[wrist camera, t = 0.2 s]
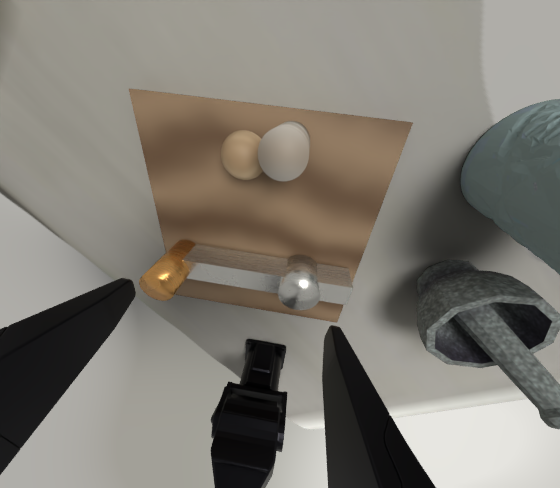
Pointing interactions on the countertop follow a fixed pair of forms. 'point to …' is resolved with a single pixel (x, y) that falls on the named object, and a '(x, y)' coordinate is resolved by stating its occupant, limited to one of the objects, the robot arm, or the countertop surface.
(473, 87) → the countertop surface
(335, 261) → the board
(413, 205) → the countertop surface
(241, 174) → the dough ball
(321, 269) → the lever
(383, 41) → the countertop surface
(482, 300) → the mortar and pestle
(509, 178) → the teal ceramic pot
